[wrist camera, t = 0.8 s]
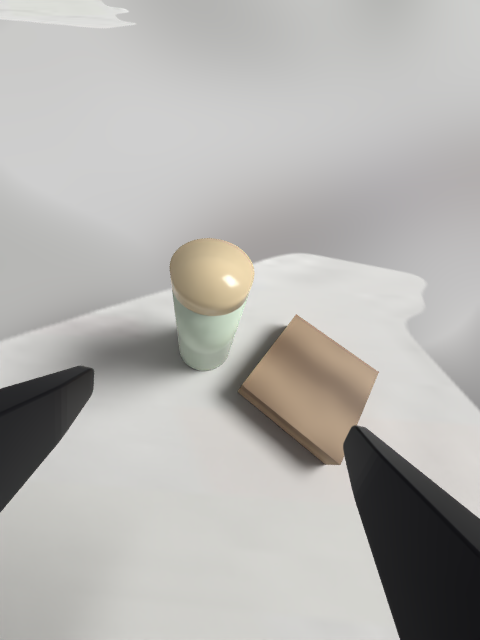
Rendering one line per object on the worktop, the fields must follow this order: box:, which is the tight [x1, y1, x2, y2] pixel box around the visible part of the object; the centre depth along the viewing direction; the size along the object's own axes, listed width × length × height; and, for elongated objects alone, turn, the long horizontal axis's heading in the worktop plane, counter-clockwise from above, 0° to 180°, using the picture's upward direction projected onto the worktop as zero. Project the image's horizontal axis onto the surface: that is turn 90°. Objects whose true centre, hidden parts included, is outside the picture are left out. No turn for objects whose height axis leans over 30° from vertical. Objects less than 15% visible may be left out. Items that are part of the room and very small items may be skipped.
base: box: [238, 314, 379, 465], centre depth 24 cm, size 10×10×2 cm
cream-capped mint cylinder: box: [170, 238, 254, 371], centre depth 20 cm, size 5×5×12 cm
